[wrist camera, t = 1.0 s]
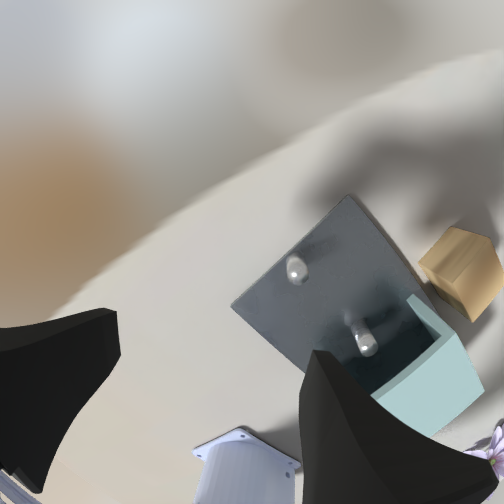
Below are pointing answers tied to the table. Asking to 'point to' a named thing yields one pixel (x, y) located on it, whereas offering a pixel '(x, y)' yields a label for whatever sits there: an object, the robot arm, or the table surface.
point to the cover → (432, 379)
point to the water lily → (494, 453)
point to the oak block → (464, 271)
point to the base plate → (341, 300)
